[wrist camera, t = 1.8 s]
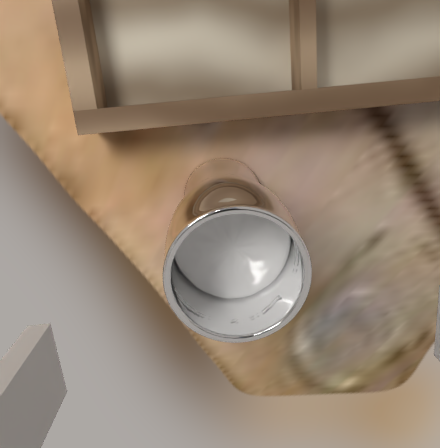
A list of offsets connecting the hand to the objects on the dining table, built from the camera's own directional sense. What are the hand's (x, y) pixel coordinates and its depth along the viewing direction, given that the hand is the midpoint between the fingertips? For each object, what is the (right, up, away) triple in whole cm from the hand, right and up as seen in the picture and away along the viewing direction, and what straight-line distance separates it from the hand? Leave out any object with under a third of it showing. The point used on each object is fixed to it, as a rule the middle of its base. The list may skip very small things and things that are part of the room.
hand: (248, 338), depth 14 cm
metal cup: (-1, +6, +18) cm, 19 cm away
